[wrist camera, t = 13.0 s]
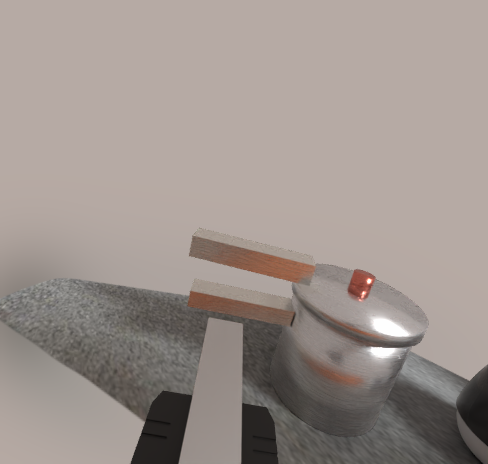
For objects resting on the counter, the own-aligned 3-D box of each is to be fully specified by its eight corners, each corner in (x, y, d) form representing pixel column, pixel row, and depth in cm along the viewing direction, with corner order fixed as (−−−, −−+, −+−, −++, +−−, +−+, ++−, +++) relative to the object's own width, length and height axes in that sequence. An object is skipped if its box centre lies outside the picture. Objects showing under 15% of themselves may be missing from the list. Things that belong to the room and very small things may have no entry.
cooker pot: (353, 357, 46) (381, 289, 42) (399, 446, 32) (446, 358, 29) (187, 324, 44) (202, 251, 40) (163, 405, 30) (183, 305, 27)
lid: (390, 289, 42) (401, 264, 41) (453, 363, 28) (472, 327, 26) (203, 243, 42) (208, 216, 41) (169, 292, 28) (176, 254, 27)
